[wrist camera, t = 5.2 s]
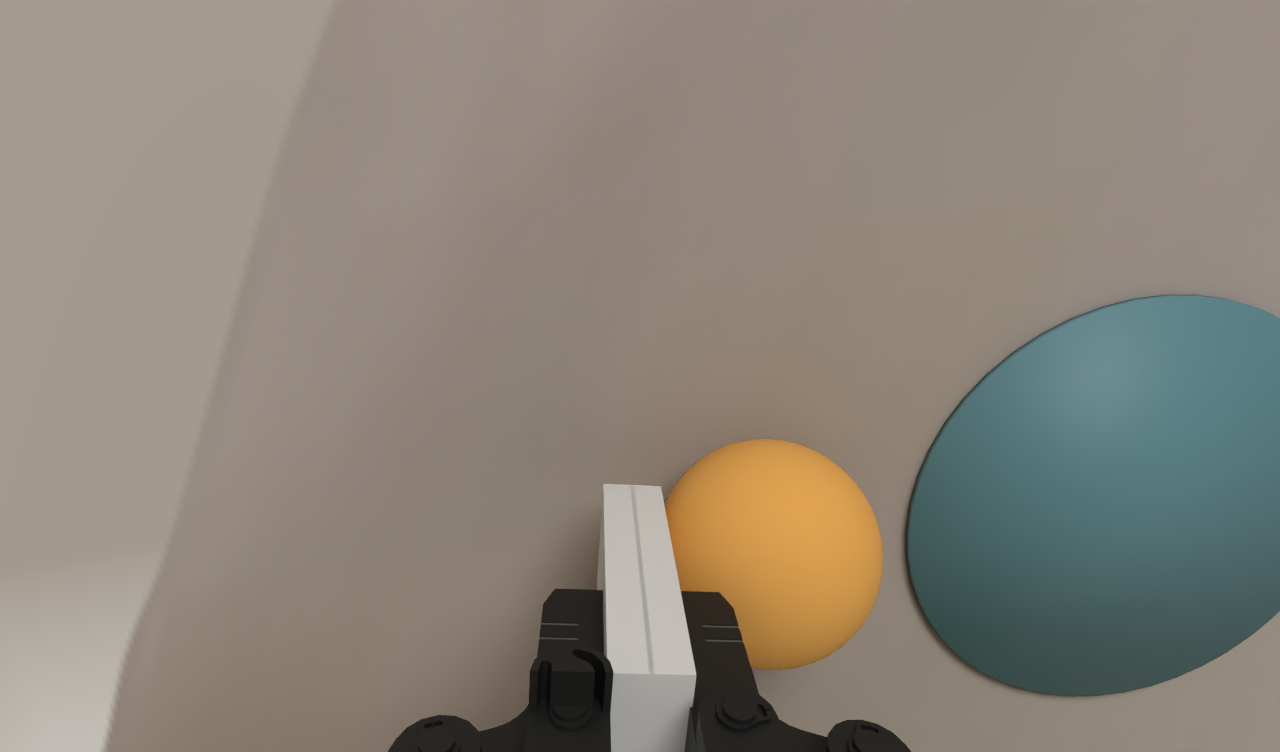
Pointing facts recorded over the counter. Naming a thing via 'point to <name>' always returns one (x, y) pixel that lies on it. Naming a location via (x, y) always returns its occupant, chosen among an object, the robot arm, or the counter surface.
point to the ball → (778, 547)
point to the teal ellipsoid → (1108, 499)
